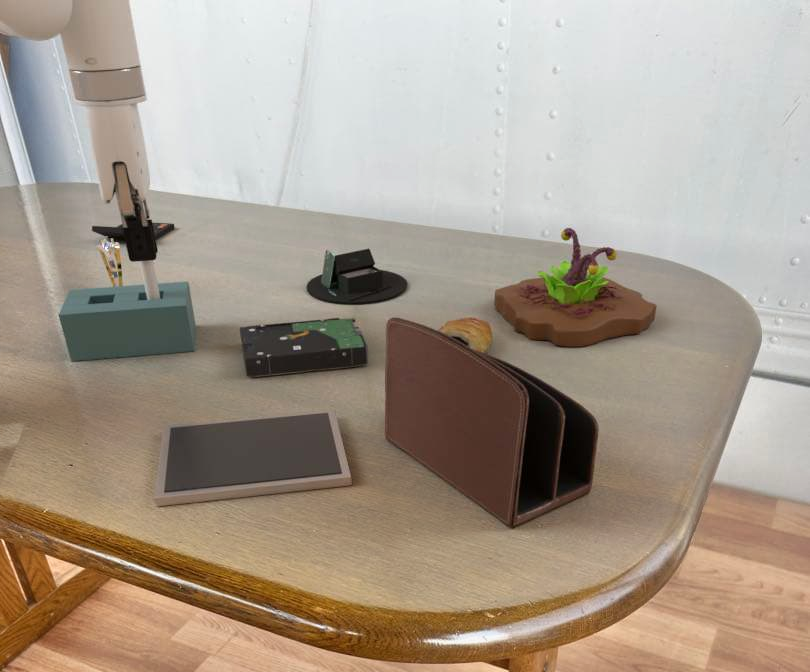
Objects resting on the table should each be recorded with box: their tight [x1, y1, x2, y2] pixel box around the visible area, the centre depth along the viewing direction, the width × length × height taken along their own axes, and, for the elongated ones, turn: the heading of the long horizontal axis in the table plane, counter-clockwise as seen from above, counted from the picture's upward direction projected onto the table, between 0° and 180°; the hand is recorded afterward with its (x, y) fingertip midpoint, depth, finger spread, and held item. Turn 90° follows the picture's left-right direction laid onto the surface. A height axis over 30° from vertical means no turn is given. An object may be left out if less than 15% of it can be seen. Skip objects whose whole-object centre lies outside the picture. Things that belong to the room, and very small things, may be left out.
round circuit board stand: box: [306, 248, 408, 306], centre depth 120 cm, size 15×15×6 cm
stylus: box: [138, 208, 160, 300], centre depth 100 cm, size 2×2×13 cm
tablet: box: [154, 409, 353, 507], centre depth 81 cm, size 18×14×1 cm
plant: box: [493, 227, 657, 348], centre depth 108 cm, size 20×20×11 cm
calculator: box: [91, 222, 176, 241], centre depth 143 cm, size 9×12×3 cm
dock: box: [58, 281, 197, 362], centre depth 103 cm, size 9×15×6 cm, turn 100°
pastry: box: [437, 316, 493, 354], centre depth 101 cm, size 9×7×4 cm
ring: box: [95, 238, 124, 287], centre depth 117 cm, size 7×3×8 cm, turn 24°
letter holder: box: [384, 317, 600, 530], centre depth 75 cm, size 10×20×14 cm, turn 35°
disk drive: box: [239, 317, 369, 378], centre depth 100 cm, size 10×3×15 cm
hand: (144, 256), depth 99 cm, fingers closed on stylus, 1 cm apart
